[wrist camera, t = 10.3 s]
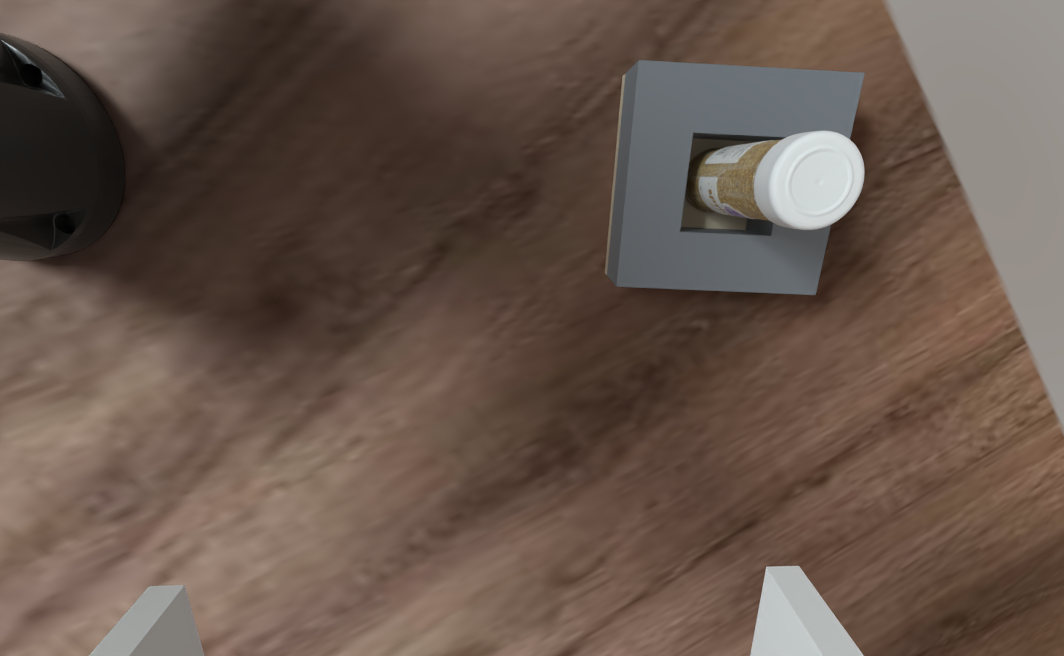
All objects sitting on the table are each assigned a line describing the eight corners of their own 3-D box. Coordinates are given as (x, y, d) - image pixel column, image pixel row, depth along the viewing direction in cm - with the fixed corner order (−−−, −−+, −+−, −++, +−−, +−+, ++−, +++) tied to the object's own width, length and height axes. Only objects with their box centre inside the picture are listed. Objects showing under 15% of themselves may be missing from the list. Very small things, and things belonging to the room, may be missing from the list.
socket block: (604, 273, 39) (616, 286, 34) (622, 76, 35) (638, 60, 30) (779, 280, 39) (815, 295, 34) (817, 87, 35) (864, 72, 30)
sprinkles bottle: (675, 208, 36) (760, 225, 23) (688, 143, 35) (785, 123, 22) (735, 215, 37) (852, 236, 24) (750, 151, 35) (882, 135, 22)
